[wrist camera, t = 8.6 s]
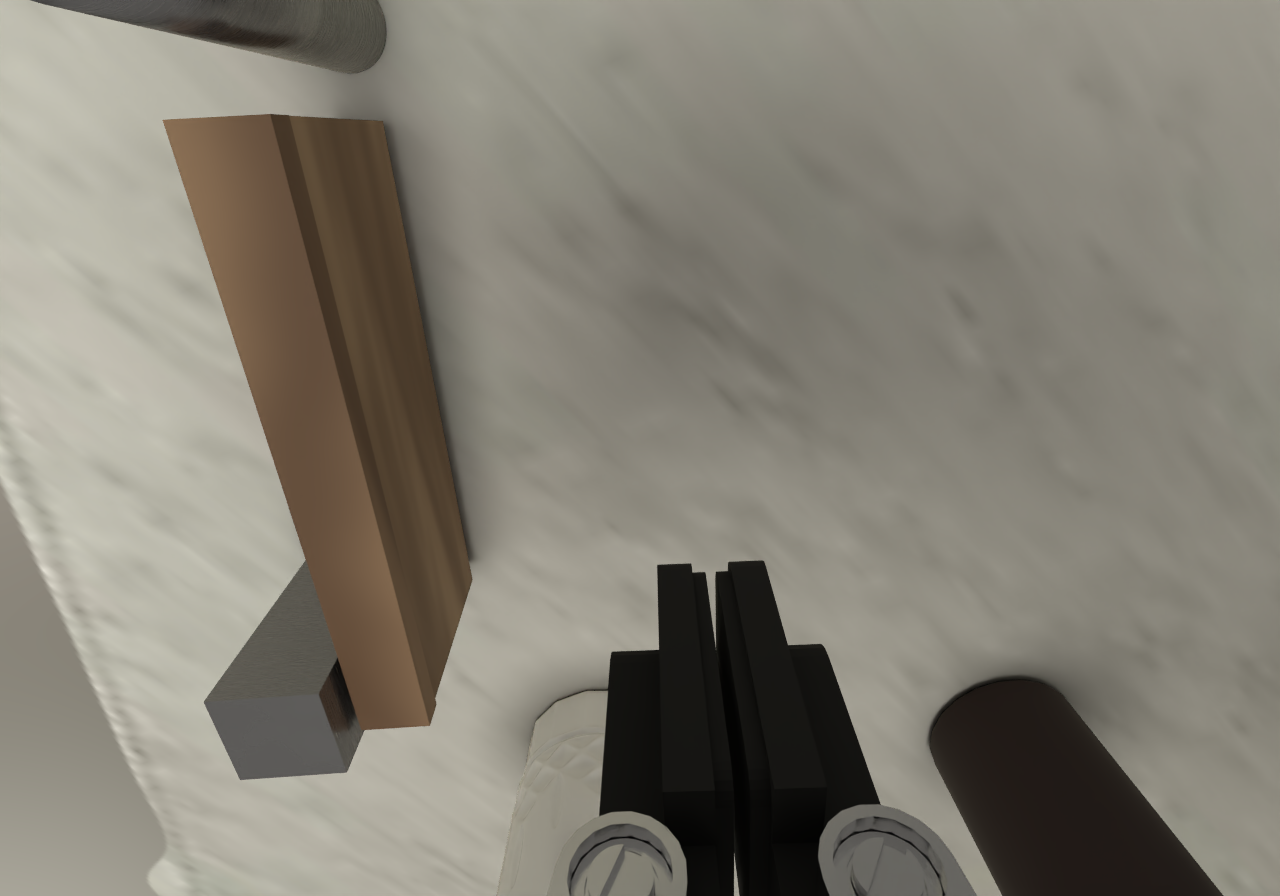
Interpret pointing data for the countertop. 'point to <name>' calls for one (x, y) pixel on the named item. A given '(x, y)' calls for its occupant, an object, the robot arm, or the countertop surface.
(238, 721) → the post
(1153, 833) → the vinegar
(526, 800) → the white cup
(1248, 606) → the countertop surface
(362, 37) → the grey glass test tube
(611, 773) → the robot arm
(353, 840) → the countertop surface
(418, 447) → the brown wooden board
